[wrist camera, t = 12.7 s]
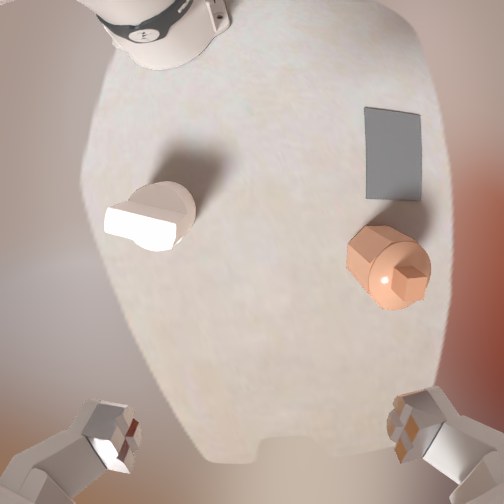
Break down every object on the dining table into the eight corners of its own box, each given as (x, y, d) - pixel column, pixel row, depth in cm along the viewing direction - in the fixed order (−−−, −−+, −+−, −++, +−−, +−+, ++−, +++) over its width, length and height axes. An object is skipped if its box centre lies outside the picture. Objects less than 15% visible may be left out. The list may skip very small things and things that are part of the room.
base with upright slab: (135, 232, 44) (100, 255, 33) (145, 175, 42) (110, 181, 30) (189, 246, 45) (169, 274, 33) (202, 188, 42) (183, 197, 31)
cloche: (348, 225, 44) (386, 252, 30) (402, 225, 44) (451, 249, 30) (344, 284, 46) (376, 328, 33) (396, 280, 46) (438, 319, 33)
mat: (364, 108, 38) (365, 107, 38) (418, 115, 38) (420, 115, 38) (365, 198, 43) (366, 198, 42) (419, 200, 42) (420, 200, 42)
